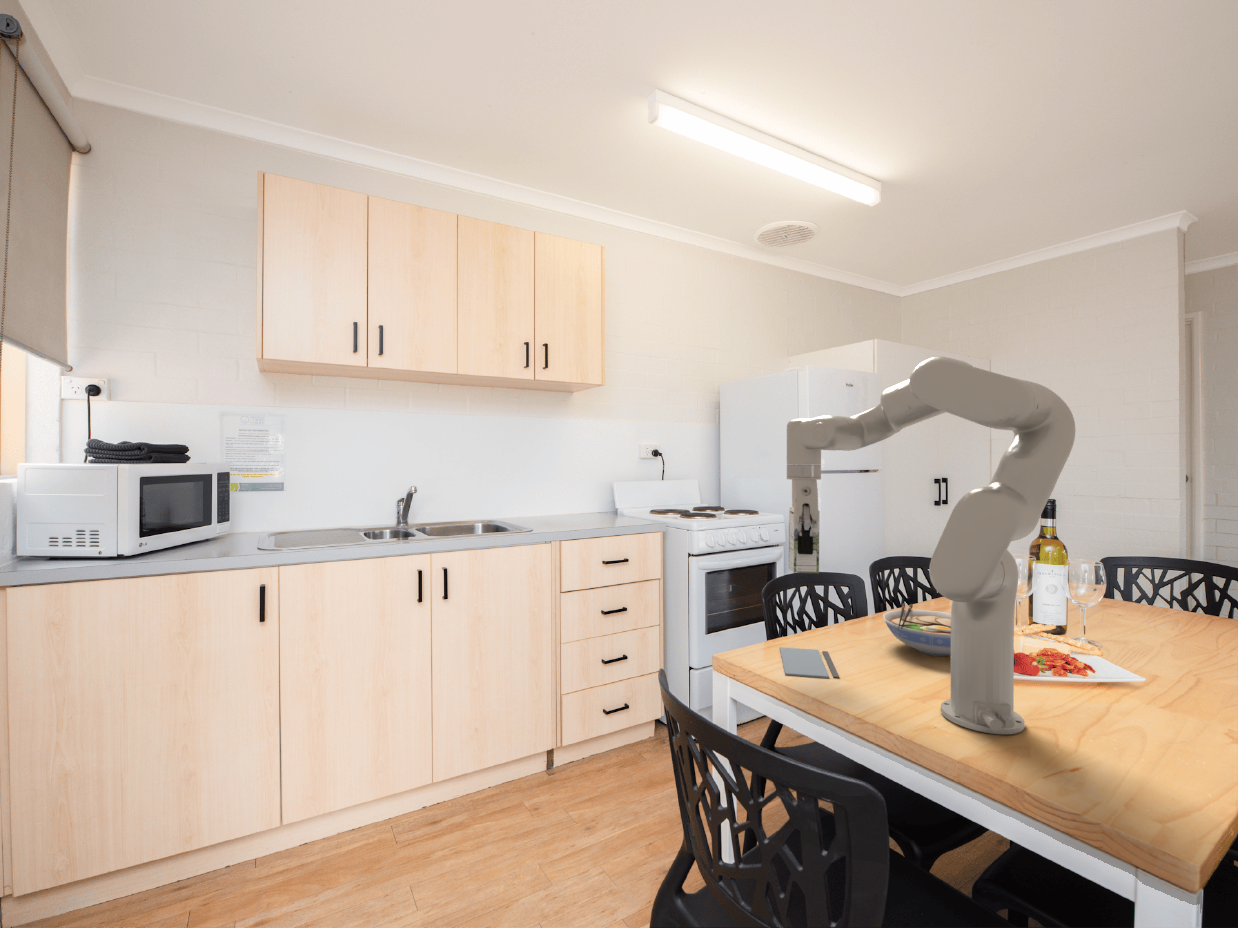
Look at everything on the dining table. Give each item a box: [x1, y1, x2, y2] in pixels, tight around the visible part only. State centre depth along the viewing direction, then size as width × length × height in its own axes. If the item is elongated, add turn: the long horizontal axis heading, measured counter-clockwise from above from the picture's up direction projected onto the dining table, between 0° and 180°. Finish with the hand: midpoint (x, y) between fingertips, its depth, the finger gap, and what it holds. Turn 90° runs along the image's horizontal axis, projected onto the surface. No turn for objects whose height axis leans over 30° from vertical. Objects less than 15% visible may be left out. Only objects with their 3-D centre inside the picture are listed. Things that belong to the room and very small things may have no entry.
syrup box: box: [788, 507, 821, 574], centre depth 132 cm, size 6×6×14 cm
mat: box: [779, 646, 830, 679], centre depth 132 cm, size 18×9×1 cm, turn 168°
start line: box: [822, 650, 840, 679], centre depth 131 cm, size 17×1×1 cm, turn 168°
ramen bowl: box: [882, 602, 951, 657], centre depth 140 cm, size 25×23×8 cm
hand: (803, 551), depth 132 cm, fingers closed on syrup box, 6 cm apart
